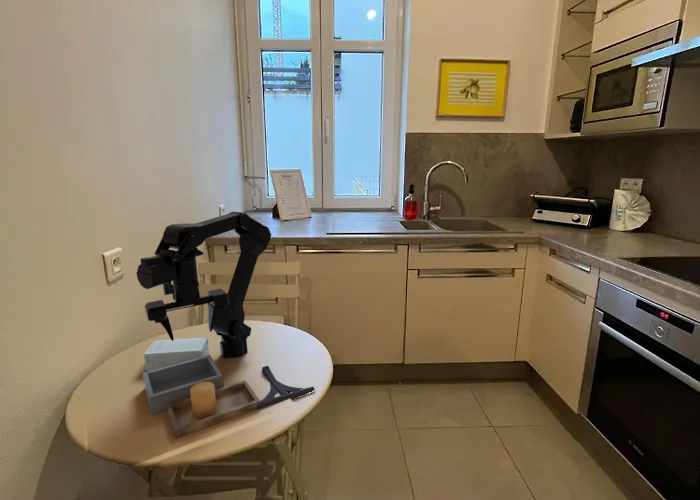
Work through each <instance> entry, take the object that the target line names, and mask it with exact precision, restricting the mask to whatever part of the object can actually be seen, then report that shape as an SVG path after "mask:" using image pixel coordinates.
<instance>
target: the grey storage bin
mask: <svg viewBox="0 0 700 500" xmlns="http://www.w3.org/2000/svg"><path fill="white" fill-rule="evenodd" d="M142 378H143V385H144V392H145V393H146V398H147V403H148V406H149V410H150V413H151V415H155V414H158V413H162V412H164V411H167V408H166V405H169V404H172V403H176V402H179V401H182V400H185V399H188V398H191V394H190V389H191V388H192V387H193V386H194V385H196V384H198V383H201V382H211V383H213V384H214V387H215V390H216V389H219V388H223V387H225V385H224V384H225V383H224V375H223V374H222V372H221V370H220V368H219V367H218V365H217V364H216V362H215V360H214V359H213V357H212V356H211V354H209V355H206V356H203V357H199V358H195V359H192V360H188V361H184V362H181V363H177V364H173V365H170V366H166V367H162V368H159V369H155V370H151V371H144V372H142Z"/></svg>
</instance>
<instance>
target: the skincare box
mask: <svg viewBox="0 0 700 500" xmlns="http://www.w3.org/2000/svg"><path fill="white" fill-rule="evenodd" d="M208 339H209V338H208V337H207V336H206V337H191V338H177V339H176V338H175V339H174V338H173V340H174V341H172V340H171V339H162V340H161V339H159V340H154V341H153V342H152V343H151V345H150V346H149V347H148V348H147V350H146V351H145V352H144V354H143V358H144V359H143V360H144V368H145V369H144V370H145V372H148V371H151V370H155V369H159V368H162V367H166V366H170V365H173V364H177V363H181V362H184V361H188V360H192V359H195V358H199V357H203V356H206V355H210V348H209V340H208Z"/></svg>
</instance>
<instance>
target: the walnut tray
mask: <svg viewBox="0 0 700 500" xmlns="http://www.w3.org/2000/svg"><path fill="white" fill-rule="evenodd" d="M215 397H216V406H217V412H216V413H215V414H214V415H213V416H210V417H207V418H204V419H201V420H199V419H196V418H194V417H193V411H192V403H191V398H188V399H185V400H182V401H179V402H176V403H172V404H169V405H166V408H167V410H166V413H167V417H168V419H169V422H170V426H171V429H172V432H173V435H174V437H175V438H174V439H178V438H181V437H184V436H187V435H189V434H192V433H196V432H199V431H200V430H204V429H207V428H209V427H211V426H215V425H217V424H220V423H224V422H226V421H229V420H231V419H233V418H236V417H240V416H242V415H245V414H247V413H250V412H253V411H255V410H258V405H259V404H260V401H261V400H260V399H259V398H258V395H257V394H256V393H255V391H254V390H253V389H252V387H251V386H250V385H249V383H248V381H247V380H242V381H239V382H236V383H232V384H229V385H226V386H224V387H223V388H219V389H216V390H215Z"/></svg>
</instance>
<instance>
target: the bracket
mask: <svg viewBox="0 0 700 500" xmlns="http://www.w3.org/2000/svg"><path fill="white" fill-rule="evenodd" d="M261 372H262V373H264V374H263V375H264V376H265V377H266V378H267V380H269V383H270V388H269V392H268V393H267V394H266V395H265V396H264V397H263V399H261V400H260V404H259V405H258V409H257V410H261V409H263V408H264V409H265V408H267V407H270V406H272V405H274V404H278V403H280V402H283V401H286V400H291V399H293V400H295V399H294V398H296V399H298V398H297V397H299V396H302V395H305V394H307V393H309V392H312V391H313V390H315V389H316V388H315V387H314V386H309V387H296V386H295V387H294V386H290V385H286V384H284V383H282V382H280V381H278V380H277V379H276V378H275V377H276V376H275V375H274V374H273V372H272V370H271V369H270V366H268V365H265V366H262V368H261ZM303 388H305V389H303ZM301 389H302V390H301ZM315 391H316V390H315ZM291 392H292V393H291ZM277 394H280V395H279V396H276V395H277ZM305 396H306V395H305ZM302 397H303V396H302ZM299 398H300V397H299Z"/></svg>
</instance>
